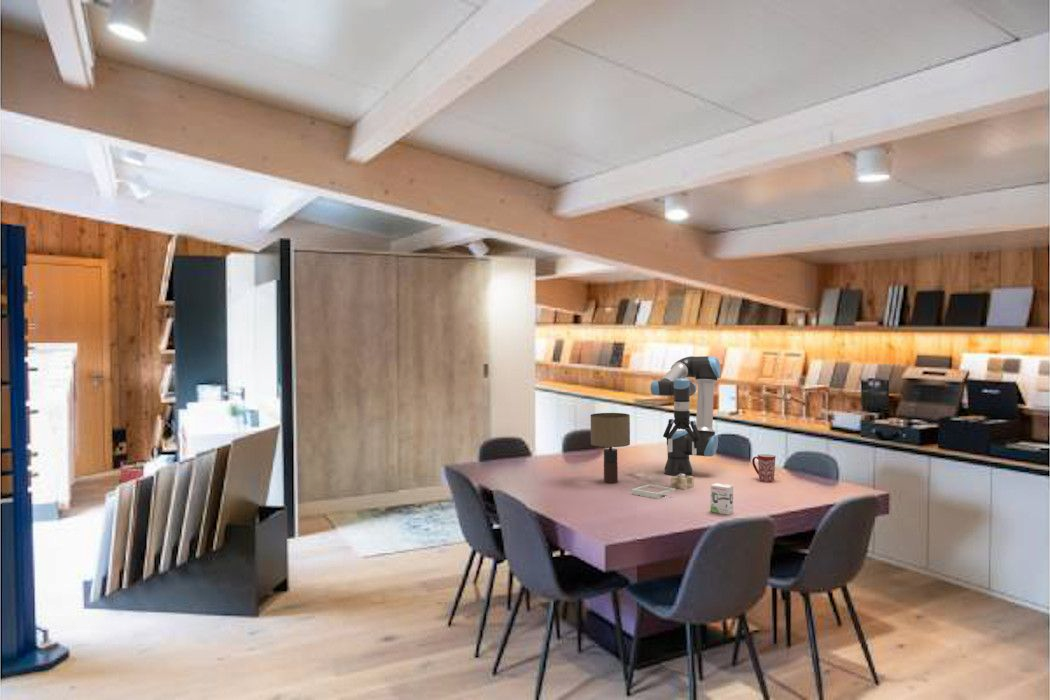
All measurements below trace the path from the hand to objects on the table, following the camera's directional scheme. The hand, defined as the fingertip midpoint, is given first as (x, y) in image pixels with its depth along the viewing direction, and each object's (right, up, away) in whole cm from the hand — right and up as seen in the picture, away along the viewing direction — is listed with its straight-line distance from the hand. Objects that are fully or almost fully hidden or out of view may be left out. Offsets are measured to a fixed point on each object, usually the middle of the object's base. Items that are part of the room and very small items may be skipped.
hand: (682, 453), depth 350 cm
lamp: (-32, -18, +22) cm, 43 cm away
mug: (+47, -17, +21) cm, 54 cm away
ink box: (+8, -19, -43) cm, 48 cm away
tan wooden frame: (0, -17, +1) cm, 17 cm away
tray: (-15, -18, -7) cm, 25 cm away
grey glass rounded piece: (0, -18, +1) cm, 18 cm away
